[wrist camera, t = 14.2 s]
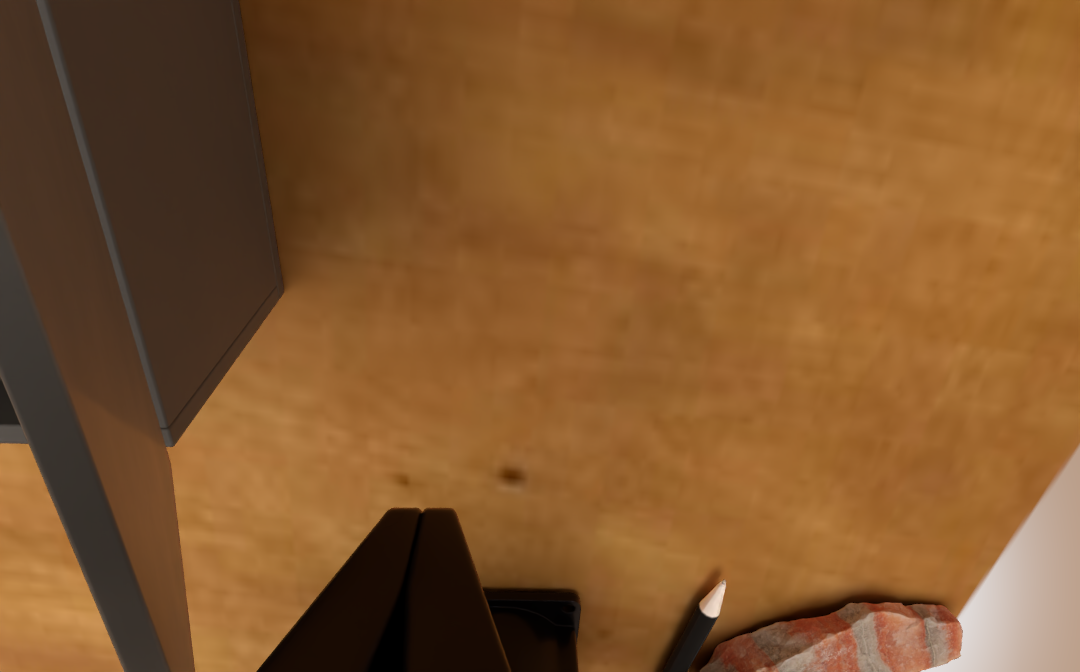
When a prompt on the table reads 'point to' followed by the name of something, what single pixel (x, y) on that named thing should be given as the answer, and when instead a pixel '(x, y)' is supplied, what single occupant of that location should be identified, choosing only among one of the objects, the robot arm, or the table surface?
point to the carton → (170, 184)
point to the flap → (82, 365)
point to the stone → (847, 642)
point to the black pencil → (696, 630)
